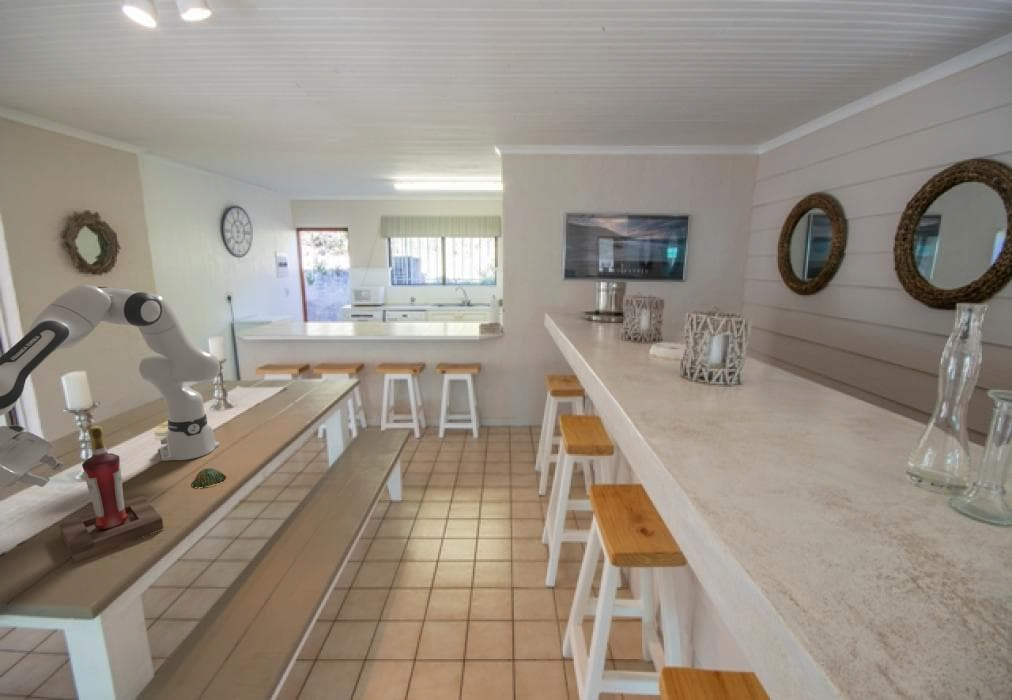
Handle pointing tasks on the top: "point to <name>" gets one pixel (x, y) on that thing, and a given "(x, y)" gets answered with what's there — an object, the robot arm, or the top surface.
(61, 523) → the plinth
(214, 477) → the seashell
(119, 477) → the liquor
